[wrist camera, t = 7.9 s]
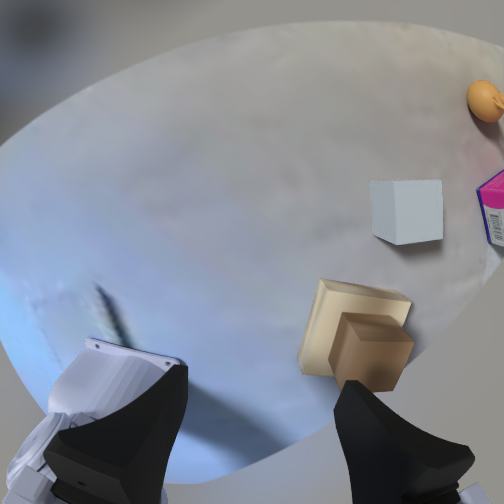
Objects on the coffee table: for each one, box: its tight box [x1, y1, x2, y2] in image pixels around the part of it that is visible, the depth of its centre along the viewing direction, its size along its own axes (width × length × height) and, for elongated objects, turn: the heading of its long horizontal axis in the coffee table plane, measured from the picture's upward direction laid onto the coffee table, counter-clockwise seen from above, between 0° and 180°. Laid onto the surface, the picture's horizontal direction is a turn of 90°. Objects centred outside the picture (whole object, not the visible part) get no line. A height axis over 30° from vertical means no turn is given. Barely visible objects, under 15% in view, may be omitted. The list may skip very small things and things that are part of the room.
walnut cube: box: [328, 312, 415, 392], centre depth 17 cm, size 4×4×4 cm
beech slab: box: [297, 278, 411, 377], centre depth 20 cm, size 7×7×3 cm
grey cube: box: [369, 179, 443, 245], centre depth 17 cm, size 4×4×4 cm
